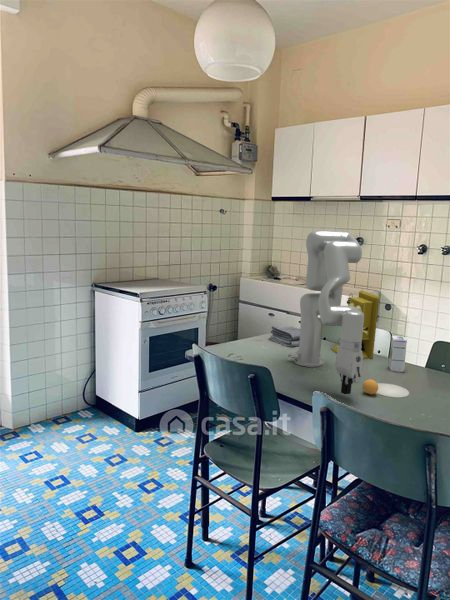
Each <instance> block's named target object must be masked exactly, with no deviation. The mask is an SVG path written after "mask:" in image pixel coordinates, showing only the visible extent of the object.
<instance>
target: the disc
mask: <svg viewBox="0 0 450 600" xmlns="http://www.w3.org/2000/svg"><path fill="white" fill-rule="evenodd" d="M377 384H378V391H377V392H376V393H375V394H378V395H379V396H380V395H381V396H384V397H387V398H388V397H389V398H393V399H394V398H395V399H396V398H397V399H398V398H406V397H408V396H409V395H410V391H409V390H407V389H406V388H405V387H403V386H400V385H397V384H392V383H383V382H382V383H381V382H380V383H378V382H377Z"/></svg>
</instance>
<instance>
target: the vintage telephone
mask: <svg viewBox="0 0 450 600" xmlns="http://www.w3.org/2000/svg"><path fill="white" fill-rule="evenodd" d="M379 301H380V296H379V295H376V294H373V293H371V292H368V291H365V290H361V289H360V291H358V297H357V296H355V297H354V296H353V293H350V295H349V297H348V298H347V300H346V304H347V306H353V307H355V308H357V310H358V311H361V312H362V313H363V314H364V324H363V334H362V344H361V346H362V348H361V351H362V354H363V359H368V358H369V360H373V359H374V350H375V341H376V332H377V323H378V321H377V320H378V312H379V304H380V302H379ZM339 340H340V337H339V339H338V340H337V341H336V343H338V342H339ZM338 348H339V345H334V346H333V347H331V350H332V351H333V352H334V353H336V354H337V352H338Z"/></svg>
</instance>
